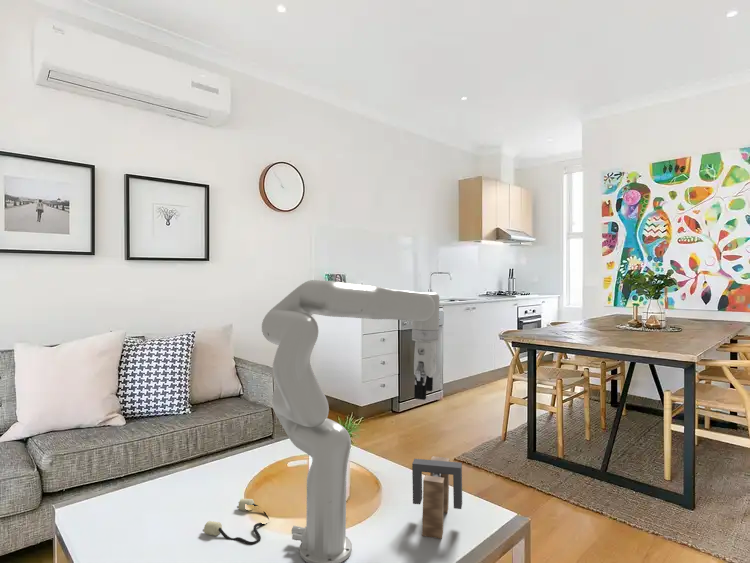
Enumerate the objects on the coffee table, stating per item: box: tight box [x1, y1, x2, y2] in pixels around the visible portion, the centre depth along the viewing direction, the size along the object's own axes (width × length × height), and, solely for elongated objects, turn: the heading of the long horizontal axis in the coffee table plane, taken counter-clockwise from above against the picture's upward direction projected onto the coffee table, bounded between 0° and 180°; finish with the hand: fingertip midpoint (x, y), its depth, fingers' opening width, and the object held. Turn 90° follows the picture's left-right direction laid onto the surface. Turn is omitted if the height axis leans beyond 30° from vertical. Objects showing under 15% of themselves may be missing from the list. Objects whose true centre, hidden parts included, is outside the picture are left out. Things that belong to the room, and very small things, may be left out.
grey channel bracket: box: [411, 458, 463, 510], centre depth 127 cm, size 13×4×11 cm, turn 75°
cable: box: [202, 498, 263, 546], centre depth 124 cm, size 16×16×4 cm
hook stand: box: [421, 455, 451, 540], centre depth 127 cm, size 5×16×14 cm, turn 165°
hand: (423, 394), depth 133 cm, fingers open, 9 cm apart
